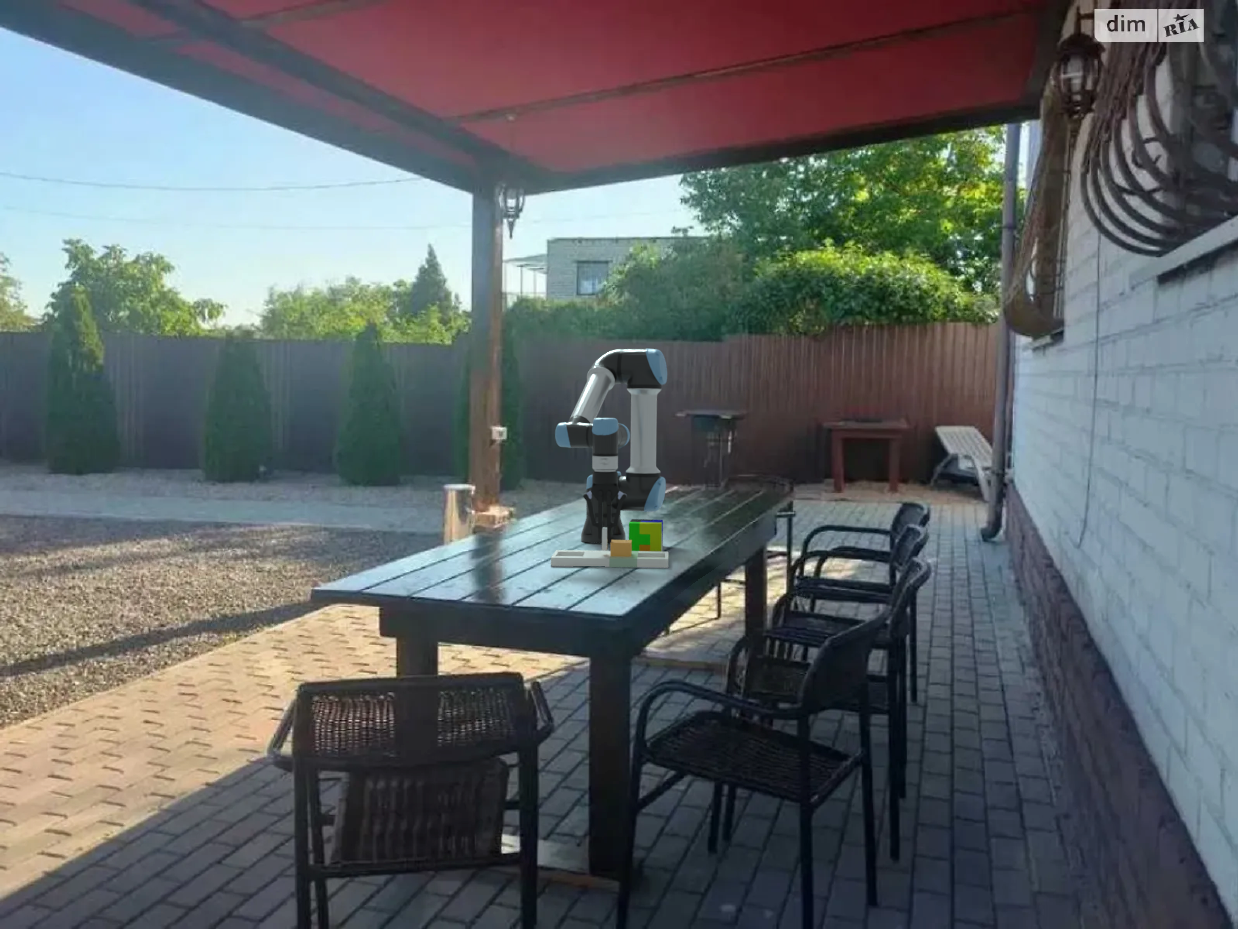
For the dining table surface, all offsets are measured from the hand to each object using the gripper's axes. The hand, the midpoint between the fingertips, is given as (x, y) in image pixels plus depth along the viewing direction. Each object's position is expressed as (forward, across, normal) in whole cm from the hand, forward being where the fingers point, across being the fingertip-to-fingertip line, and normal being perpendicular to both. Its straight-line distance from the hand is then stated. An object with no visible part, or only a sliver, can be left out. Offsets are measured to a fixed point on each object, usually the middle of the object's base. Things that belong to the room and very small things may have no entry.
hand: (604, 549), depth 298 cm
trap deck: (+4, +2, 0) cm, 4 cm away
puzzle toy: (+4, +12, +20) cm, 24 cm away
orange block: (+1, +5, 0) cm, 5 cm away
